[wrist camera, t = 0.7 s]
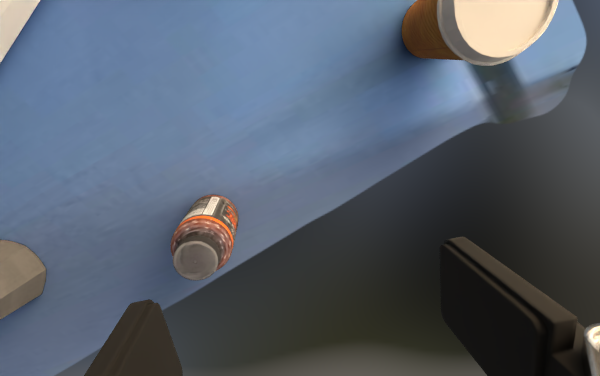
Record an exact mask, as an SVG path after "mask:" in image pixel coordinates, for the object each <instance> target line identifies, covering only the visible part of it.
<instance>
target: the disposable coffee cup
mask: <svg viewBox="0 0 600 376" xmlns="http://www.w3.org/2000/svg"><path fill="white" fill-rule="evenodd" d="M557 4H558V0H417V1H416V2H415V3H414V4H413V5H412V6H411V7H410V8H409V10H408V11H407V13H406V15H405V17H404V20H403V24H402V37H403V41H404V44H405V46H406V48H407V49H408V50H409V51H410V52H411V53H412V54H413V55H415V56H416V57H419V58H425V59H449V60H465V61H467V62H470V63H472V64H477V65H496V64H500V63H503V62H505V61H508V60H510V59H512V58H514V57H515V56H517V55H518V54H520V53H521V52H522V51H523V50H525V49H526V48H528V47H529V46H530V45H531V44H533V43H534V42H535V41H536V40H537V39H538V38H539V37H540V36H541V35H542V33H543V32H544V31H545V30H546V28H547V26H548V25H549V23H550V21H551V20H552V18H553V15H554V12H555V10H556V7H557Z"/></svg>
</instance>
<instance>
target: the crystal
mask: <svg viewBox="0 0 600 376" xmlns="http://www.w3.org/2000/svg"><path fill="white" fill-rule="evenodd" d="M39 2H40V0H0V63H1V61H2V60H3V58H4V57H5V55H6V54H7V52H8V50H9V49H10V47H11V46H12V44H13V43H14V41H15V39H16V38H17V36H18V35H19V33H20V31H21V30H22V28H23V27H24V25H25V24H26V22H27V20H28V19H29V17H30V16H31V14H32V13H33V11H34V9H35V8H36V6H37V5H38V3H39Z"/></svg>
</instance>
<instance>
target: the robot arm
mask: <svg viewBox="0 0 600 376" xmlns="http://www.w3.org/2000/svg"><path fill="white" fill-rule="evenodd" d="M440 281H441V282H440V283H441V313H442V317H443V319H444V321H445V323H446V324H447V325H448V326H449V328H450V329H451V330H452V331H453V333H454V334H455V335H456V336H457V338H458V339H459V340H460V341H461V343H462V344H463V345H464V347H465V348H466V349H467V350H468V352H469V353H470V354H471V355H472V357H473V358H474V359H475V361H476V362H477V363H478V364H479V365H480V367H481V368H482V369H483V370H484V372H485V373H486V374H487V376H600V323H596V324H593V325H590V326H588V327H587V328H585V327H583V326H582V325H580V324H579V323H578V322H577V319H578V318H577V317H576V316H574V315H573V314H572V313H570V312H569V311H567V310H566V309H564V308H563V307H562V306H560V305H559V304H558V303H556V302H555V301H553V300H552V299H551V298H549V297H548V296H546V295H545V294H544V293H542V292H541V291H539V290H538V289H537V288H535V287H534V286H532V285H531V284H530V283H528V282H527V281H525V280H524V279H523V278H521V277H520V276H518V275H517V274H516V273H514V272H513V271H511V270H510V269H509V268H507V267H506V266H504V265H503V264H502V263H500V262H499V261H497V260H496V259H495V258H493V257H492V256H490V255H489V254H488V253H486V252H485V251H484V250H482V249H481V248H479V247H478V246H477V245H475V244H473V243H472V242H471V241H470V240H468V239H467V238H465V237H458V238H453V239H448V240H446V241H445V242H444V245H441V247H440ZM84 376H182V367H181V364H180V361H179V358H178V355H177V352H176V350H175V347H174V344H173V341H172V338H171V336H170V333H169V330H168V327H167V324H166V322H165V319H164V316H163V313H162V310H161V307H160V305H159V304H158V303H154V302H153V301H152V300H150V299H149V300H145V301H140V302H135V303H131V304H130V305H129V306H128V308H127V309H126V311H125V312H124V314H123V316H122V317H121V319H120V320H119V322H118V323H117V325H116V327H115V328H114V330H113V331H112V333H111V334H110V336H109V337H108V339H107V341H106V342H105V344H104V345H103V347H102V348H101V350H100V352H99V353H98V355H97V356H96V358H95V359H94V361H93V363H92V364H91V366H90V367H89V369H88V370H87V372H86V374H85V375H84Z"/></svg>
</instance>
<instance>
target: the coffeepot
mask: <svg viewBox="0 0 600 376" xmlns="http://www.w3.org/2000/svg"><path fill="white" fill-rule="evenodd" d="M45 281H46V268H45V267H44V265H43V263H42V262H41V260H40V259H39V258H38V256H37V255H36V254H35V253H33V252H32V251H31V250H30V249H28V248H27V247H26V246H24V245H21V244H19V243H15V242H12V241H7V240H0V320H1V319H2V318H4V317H5V316H7V315H9V314H10V313H12V312H13V311H15V310H17V309H18V308H20V307H21V306H23V305H25V304H26V303H28V302H29V301H31V300H33V299H34V298H36V297H37V296H39V295H41V294H42V292H43V288H44V284H45Z"/></svg>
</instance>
